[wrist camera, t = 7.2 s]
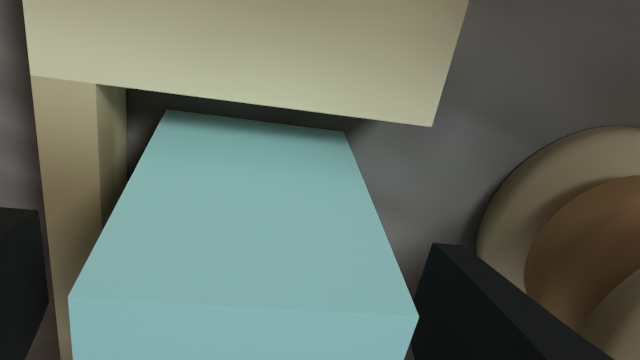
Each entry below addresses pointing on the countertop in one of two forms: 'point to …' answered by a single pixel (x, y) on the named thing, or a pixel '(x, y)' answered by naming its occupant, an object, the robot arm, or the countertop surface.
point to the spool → (575, 234)
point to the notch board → (209, 84)
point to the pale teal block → (242, 253)
